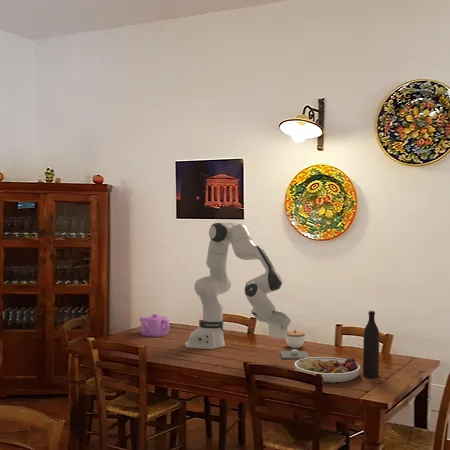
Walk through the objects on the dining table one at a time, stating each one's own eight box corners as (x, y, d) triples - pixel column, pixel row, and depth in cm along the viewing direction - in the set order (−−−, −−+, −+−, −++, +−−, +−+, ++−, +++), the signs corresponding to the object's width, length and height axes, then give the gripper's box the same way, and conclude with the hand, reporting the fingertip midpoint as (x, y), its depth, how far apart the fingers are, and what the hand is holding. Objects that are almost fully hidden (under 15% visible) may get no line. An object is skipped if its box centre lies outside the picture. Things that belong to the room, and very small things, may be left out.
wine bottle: (376, 373, 283) (377, 310, 282) (380, 378, 276) (381, 312, 275) (361, 373, 283) (362, 310, 282) (365, 378, 276) (366, 312, 275)
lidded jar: (298, 349, 330) (298, 332, 330) (281, 347, 336) (281, 330, 336) (308, 346, 338) (308, 329, 338) (291, 343, 345) (291, 327, 345)
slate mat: (282, 358, 310) (282, 353, 310) (280, 352, 324) (280, 346, 324) (309, 359, 309) (309, 353, 309) (306, 352, 323) (306, 347, 323)
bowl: (310, 387, 263) (310, 369, 262) (284, 369, 292) (285, 352, 291) (372, 382, 271) (372, 364, 270) (341, 365, 300) (342, 349, 299)
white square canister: (278, 338, 301) (278, 317, 300) (268, 336, 305) (269, 315, 305) (287, 337, 305) (287, 316, 305) (277, 334, 310) (277, 314, 310)
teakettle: (170, 336, 361) (170, 316, 360) (142, 338, 357) (142, 317, 356) (166, 331, 377) (166, 311, 377) (139, 332, 373) (139, 312, 373)
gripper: (285, 307, 292) (297, 325, 300) (254, 302, 307) (267, 319, 314) (279, 317, 289) (292, 335, 297) (248, 312, 304) (261, 328, 311)
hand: (278, 327), depth 306 cm, fingers closed on white square canister, 7 cm apart
